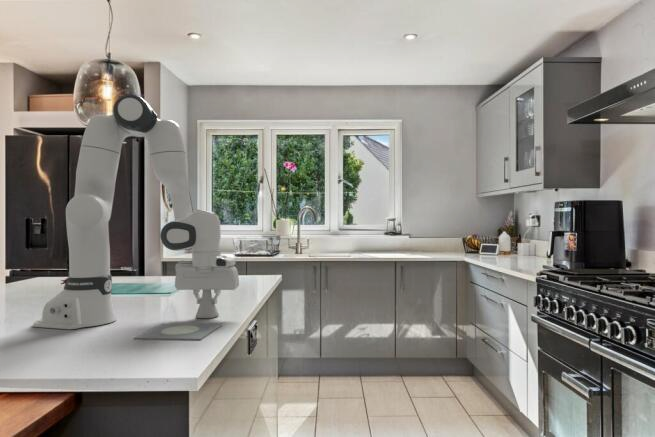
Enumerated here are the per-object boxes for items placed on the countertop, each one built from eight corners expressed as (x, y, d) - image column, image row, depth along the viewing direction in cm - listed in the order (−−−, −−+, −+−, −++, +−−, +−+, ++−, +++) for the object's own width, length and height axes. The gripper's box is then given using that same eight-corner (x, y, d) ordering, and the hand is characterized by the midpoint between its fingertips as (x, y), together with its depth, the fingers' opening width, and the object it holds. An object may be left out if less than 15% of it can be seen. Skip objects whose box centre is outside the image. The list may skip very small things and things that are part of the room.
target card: (133, 339, 117) (133, 336, 117) (162, 324, 133) (162, 322, 133) (200, 340, 115) (200, 337, 115) (221, 325, 131) (221, 323, 131)
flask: (212, 319, 139) (212, 287, 139) (191, 318, 141) (190, 286, 141) (222, 314, 146) (222, 284, 147) (202, 314, 148) (201, 283, 148)
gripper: (171, 261, 142) (171, 305, 142) (234, 261, 140) (234, 305, 139) (179, 259, 148) (180, 301, 148) (240, 259, 146) (240, 302, 146)
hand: (207, 303), depth 144 cm, fingers closed on flask, 3 cm apart
